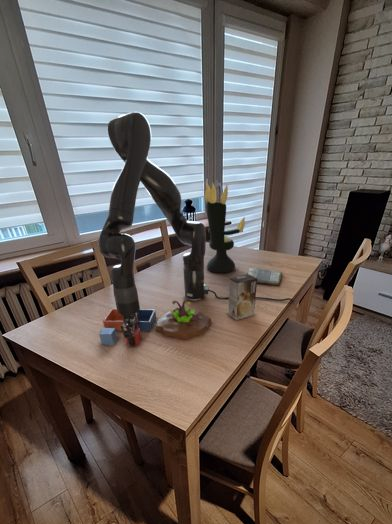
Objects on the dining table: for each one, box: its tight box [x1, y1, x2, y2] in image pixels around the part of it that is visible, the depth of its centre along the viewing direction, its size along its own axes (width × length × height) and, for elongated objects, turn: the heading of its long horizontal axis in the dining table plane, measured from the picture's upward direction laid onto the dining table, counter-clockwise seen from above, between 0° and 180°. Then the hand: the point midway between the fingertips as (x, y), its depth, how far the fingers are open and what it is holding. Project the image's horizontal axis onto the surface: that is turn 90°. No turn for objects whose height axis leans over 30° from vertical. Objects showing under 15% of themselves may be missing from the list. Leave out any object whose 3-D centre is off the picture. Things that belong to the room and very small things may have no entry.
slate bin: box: [130, 308, 157, 332], centre depth 110 cm, size 9×11×4 cm
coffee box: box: [227, 273, 258, 321], centre depth 111 cm, size 9×6×16 cm
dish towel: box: [247, 267, 283, 286], centre depth 149 cm, size 19×18×3 cm
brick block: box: [125, 328, 143, 346], centre depth 99 cm, size 4×4×4 cm
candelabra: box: [204, 182, 246, 274], centre depth 149 cm, size 19×22×45 cm
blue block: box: [98, 327, 118, 346], centre depth 100 cm, size 4×4×4 cm
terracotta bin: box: [102, 308, 124, 331], centre depth 110 cm, size 9×11×4 cm
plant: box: [155, 299, 212, 340], centre depth 106 cm, size 20×20×11 cm
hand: (134, 341), depth 100 cm, fingers closed on brick block, 4 cm apart
